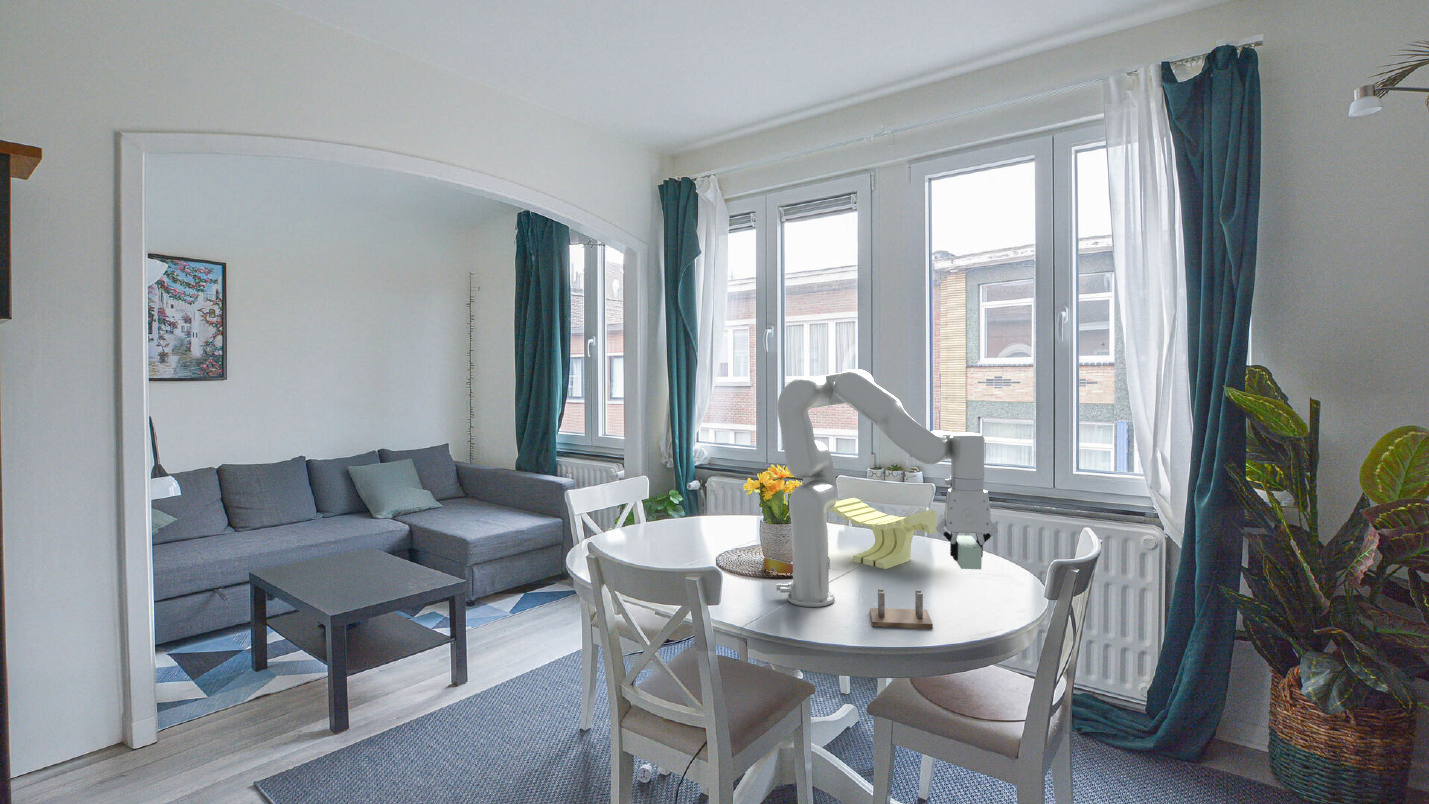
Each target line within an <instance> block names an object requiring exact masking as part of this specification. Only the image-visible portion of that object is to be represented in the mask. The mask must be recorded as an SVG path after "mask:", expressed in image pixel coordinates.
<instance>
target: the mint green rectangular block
mask: <svg viewBox="0 0 1429 804" xmlns="http://www.w3.org/2000/svg"><path fill="white" fill-rule="evenodd" d="M956 541H957V545H958V560H957V561H955V562H956V563H957V565H958V566H959V568H960V569H961V570H963V569H965V570H982V561H983V559H982V558H983V557H982V548H981V547H980V546H979V544H978V543H977V542H976V539H975V538H974V537H973V536H972V535H959V534H958V536H957V540H956Z"/></svg>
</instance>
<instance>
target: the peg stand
mask: <svg viewBox="0 0 1429 804" xmlns="http://www.w3.org/2000/svg"><path fill="white" fill-rule="evenodd" d="M914 591H915V592H914V593H915V594H914V595H915V602H914V603H915V608H914V609H911V608H886V607H885V605H886V604H885V603H886V601H885V594H886V593H885V589H884V588H878V589H877V607H869V615H870V621H871V627H872V626H882V627H881V628H892V627H902V628H901V629H920V628H921V630H923V629H924V630H933V628H934V626H933V621H932V619H931V617H930V614H929V611H928V609H924V608H923V607H924V602H923V601H924V599H923V598H924V597H923V596H924V595H923V593H922V590H921V589H915V590H914Z"/></svg>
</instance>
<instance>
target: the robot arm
mask: <svg viewBox="0 0 1429 804" xmlns="http://www.w3.org/2000/svg"><path fill="white" fill-rule="evenodd" d="M844 404H846V405H847V406H849V407H850V408H851V409H852V410H854V411H855V412H857V413H858V414H860V415H861V416H863V418H865V419H867V421H870V422H871V423H872V424H873V425H875V426H877V428H878V429H879V430H880V431H881V432H882V434H884V435H885V436H886V437H887V438H888V439H889V440H890V441H891V442H892V443H893V444H895V445H896V446H897V447H898V448H899V449H901V450H902V451H903V452H905V453H906V454H908V455H910V457H912V458H914V459H915V460H916V461H918V462H920V463H922V464H925V465H935V464H938V463H940V462H942V461H948V460H949V461H950V475H949V476H950V477H949V478H947V479H946V478H945V479H944V485H945V486H949V487H950V488H948V489H947V493H946V498H945V503H944V505H945V506H944V515H943V518H942V519H940V521H939V522H938V525H937V526H936V530H937V531H938V532H937V533H938V534H939V533H940V534H941V535H942V536H943V537H944V538H946V540H948V541H949V542H950V544H949V545H950V546H949V547H950V551H949V554H950V556H951V557H952V559H953V560H954V562H956V561H957V560H958V545H957V541H956V540H957V536H958V535H959V534H975V537H976V539H975V541H976V542H977V543H978V544H979V546H980V547H981V548H982V558H983V555H984V554H983V552H984V549H983V547H984V545H985V543H986V542H988V541H989V540H990V538H991V537H994V536H995V535H996V534H998V533H999V529H998V528H997V526H996V525H995V524H994V523H993V521H992V519H991V505H990V498H989V496H990V495H989V491H988V490H985V452H986V451H985V447H986V445H985V443H986V441H985V437H984V436H983V434H981V433H975V432H952V431H944V430H937V429H936V430H931V431H930V430H929V429H927V428H926V427H924V426H923V425H921V424H920V423H919V422H918V421H916V420H914V418H912V417H911V416H910V415H909V414H908V413H907V411H906V410H905V409H904V407H903V404H902V403H901V401H900V399H898V398H897V397H896V396H894V395H893V394H891V393H890V392H889V391H887V390H886V389H884V388H883V387H881V386H879V385H878V384H876V382H875V380H874V378H873V376H872V375H871V373H869V372H867V371H866V370H864V369H858V368H857V369H845V370H844V371H842V372H839V373H832V374H825V375H818V376H817V375H814V376H811V375H810V376H801V377H798V378H795V379H794V380H792V381H791V382H789V383H788V384H786V385H785V387H784V388H783V390H782V391H781V393H780V394H779V397H778V400H777V410H776V411H777V416H778V421H779V427H780V432H781V439H782V445H783V451H784V456H785V462H786V468H787V470H788V471H789V473H790V475H792V476H793V477H794V478H797V479H802V480H803V481H802V482H803V483H802V484H799V485H798V486H797V487H795V488H794V489H793V491H792V492H791V494H790V497H789V500H788V508H789V509H788V510H789V517H790V524H791V541H792V542H791V543H792V549H791V550H792V564H793V577H792V579H791V582H788V583H780V582H779V583H778V582H776V591H780V593H788V594H787V600H788V602H790V603H791V604H793V605H795V606H796V605H797V606H800V607H806V608H817V607H825V606H829V605H831V604H833V603H834V602H835V597H836V596H835V594H834V593H832V592H831V591H829V588H830V587H829V586H830V584H829V583H830V581H829V579H830V577H829V535H828V534H829V533H828V525H827V520H826V513H827V512H830V510H831V509H832V508H833V507H834V506H835V504H836V502H837V501H838V497H839V493H838V485H837V478H836V474H835V470H834V463H833V458H832V455H831V452H830V450H829V448H828V446H827V445H826V444H824V443H823V442H822V441H820V440H816V438H815V433H814V428H813V424H812V423H813V422H812V420H811V418H810V415H809V411H810V410H811V409H814V408H823V407H828V406H835V405H837V406H838V405H844ZM945 527H946V528H945Z"/></svg>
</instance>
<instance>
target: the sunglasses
mask: <svg viewBox="0 0 1429 804" xmlns="http://www.w3.org/2000/svg"><path fill="white" fill-rule="evenodd" d="M772 558H773V557H767V556H766V557H763V568H765V569H767V570H768V571H773V572H775V573H776V572H778V573H786V574H787V573H790V574H792V573H793V563H791V562H785V561H781V560H776V559H772ZM765 569H764V570H765Z"/></svg>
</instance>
